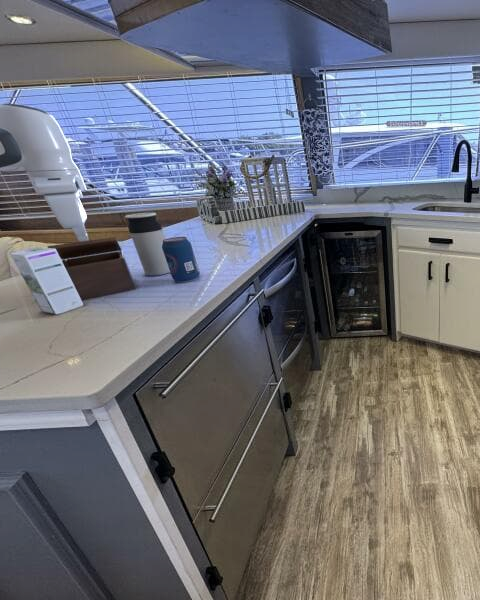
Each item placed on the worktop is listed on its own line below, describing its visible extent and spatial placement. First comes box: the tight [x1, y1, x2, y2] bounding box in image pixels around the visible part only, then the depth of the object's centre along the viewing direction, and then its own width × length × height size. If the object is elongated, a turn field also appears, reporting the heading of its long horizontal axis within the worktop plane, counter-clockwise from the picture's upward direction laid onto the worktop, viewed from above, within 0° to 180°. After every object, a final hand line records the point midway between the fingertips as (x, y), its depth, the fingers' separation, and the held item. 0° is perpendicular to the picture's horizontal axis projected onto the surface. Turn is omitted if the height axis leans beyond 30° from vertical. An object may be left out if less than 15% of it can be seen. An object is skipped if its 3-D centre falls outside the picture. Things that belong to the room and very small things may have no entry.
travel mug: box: [124, 212, 171, 277], centre depth 98 cm, size 8×8×18 cm
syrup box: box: [9, 247, 84, 315], centre depth 74 cm, size 6×6×14 cm
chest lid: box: [46, 236, 123, 261], centre depth 84 cm, size 12×13×1 cm
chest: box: [61, 250, 136, 301], centre depth 87 cm, size 12×13×9 cm
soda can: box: [162, 236, 201, 284], centre depth 92 cm, size 7×7×12 cm
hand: (84, 241), depth 81 cm, fingers closed
